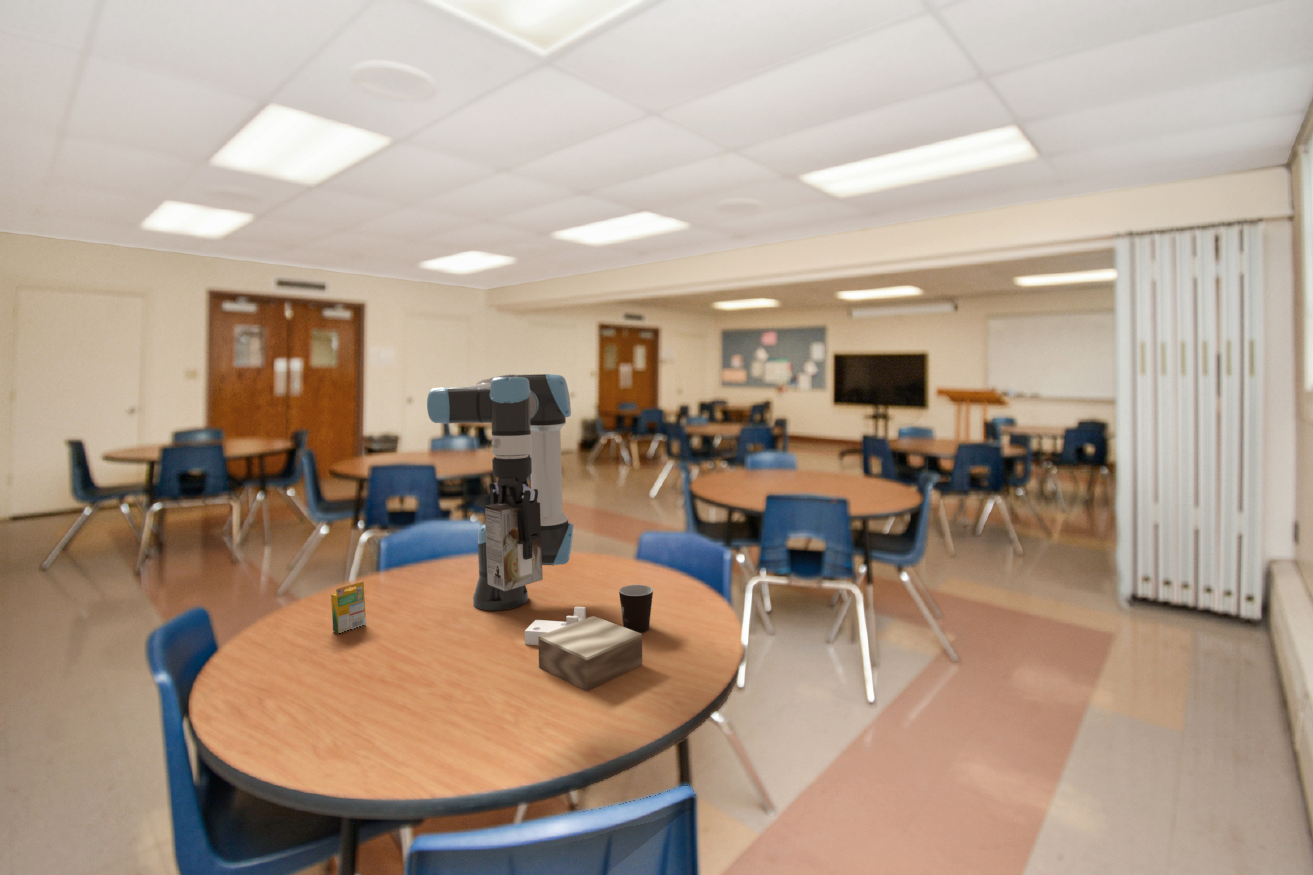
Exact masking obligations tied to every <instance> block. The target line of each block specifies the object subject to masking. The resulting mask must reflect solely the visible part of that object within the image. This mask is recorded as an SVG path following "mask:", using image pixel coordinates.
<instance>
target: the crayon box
mask: <svg viewBox="0 0 1313 875" xmlns="http://www.w3.org/2000/svg"><path fill="white" fill-rule="evenodd" d="M335 589H336V592H335V593H332V594H330V596H331V597H330V599H331V601H330V602H331V616H332V617H331V618H332V619H331V620H332V632H333V631H335V632H336V633H335V632H334V633H335V634H337V633H341V634H343V633H345V632H344V631H346V632H348V631H347V630H349V629H352V630H355V629H356V628H355V627H358V628H360V627H359V626H361V625H365V626H366V625H367V619H366V618H367V617H366V602H365V598H366V597H365V583H364V581H361V582H357V583H354V584H349V585H346V586H343V587H339V588H335ZM361 627H362V626H361ZM354 628H355V629H354ZM349 631H350V630H349ZM342 632H343V633H342Z"/></svg>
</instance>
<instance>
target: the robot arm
mask: <svg viewBox="0 0 1313 875" xmlns="http://www.w3.org/2000/svg"><path fill="white" fill-rule="evenodd" d="M570 398H571V397H570V392H569V387H568V384H567V381H566V379H565V377H564V376H563V375H561V374H550V373H543V374H541V373H540V374H538V373H536V374H535V373H534V374H505V375H498V376H495V377H490V378H486V379H482V380H479V381H478V382H476V383H475V384H471V385H470V384H469V385H464V386H458V387H457V386H456V387H455V386H454V387H447V386H443V387H434V388H431V389H430V390H429V392H428V394H427V398H426V409H427V410H426V411H427V414H428V417H429V419H430V421H431V422H432V423H435V424H445V425H449V424H477V423H478V424H491V445H492V446H491V450H492V453H491V454H492V455H493V456H495V457H493V458H492V460H491V461H492V464H491V466H492V467H491V468H492V476H493V477H495V478H497V482H492V483H489V484H488V489H489V495H490V496H489V505H491V504H497V503H499V504H503V503H510V506H511V507H519V506H523V509H522V510H517V515H518V533H519V537H520V541H518V542H517V543H518V576H520V577H521V576H525V575H528V574H532V556H533V555H532V542H533V541H535V540H539V538H540V534H539V521H538V508H537V502H539V503H540V518H541V546H542V566H552V567H553V566H558V565H565V564H568V563H569V561H570V558H571V551H572V546H573V545H572V544H573V539H574V538H573V537H574V527H575V524H573V523H572V522H569V517H568V515H567V514H566V513H565V512H564V510H563V509H564V508H563V480H562V478H563V476H562V446H561V445H562V443H561V442H562V441H561V440H562V439H561V435H562V434H561V429H562V428H563V427H564V426H565V425H566V423H567V418H570V417H571V414H572V410H571V399H570ZM529 476H530V487H529V484H528V477H529ZM522 502H523V503H522ZM519 503H521V504H519ZM476 544H477V552H478V554H477V556H478V579H477V582H476V587H475V589H474V593H473V596H472V598H473V602H472V603H473V606H474V608H477V609H479V610H483V611H505V610H511V609H515V608H518V607H521V606H523V605H525V604H526V603H527V602H528V601H529V600H528V599H529V591H528V588H527V587H526V586H527V585H524V586H520V587H517V588H514V589H511V590H507V591H503V590H501V589H498V588H496V587H493V586H491V585H488V579H487V554H486V529H485V523H484V524H482V525H481V526H480V527H479V529H478V532H477V541H476Z"/></svg>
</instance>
